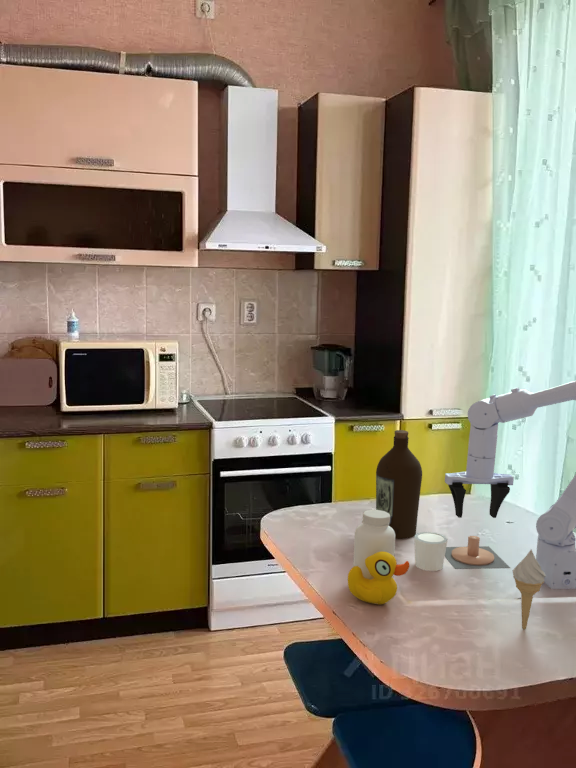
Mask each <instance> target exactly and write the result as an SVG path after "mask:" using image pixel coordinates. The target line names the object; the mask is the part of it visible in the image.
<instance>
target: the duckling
mask: <svg viewBox="0 0 576 768" xmlns="http://www.w3.org/2000/svg"><path fill="white" fill-rule="evenodd" d="M397 563H398V562H397V559H396V557H395V555H394V556H393V555H391V554H390V553H388V552H384V551H381V552H377V553H375V554H373V555H371V556H369V557H367V558H366V559H365V565H366V567H367V568H368V571H369V573H370V574H371V575H372V576H373V577H374V578H373V579H367V578H365V577H364V576H363V573H362V570H361V568H360V567H358V566H354V567H353V566H352V568H351V569H350V570H349V571H348V574H347V586H348V591H349V592H350V593H351V594H352V595H353V596H354V597H355V598H357V599H359V600H361V601H362V602H364V603H369V604H373V605H384V604H386V603H388V602H390V601H392V599H394V597H395V596H396V594H397V591H398V584H397V582H396V580H395V579H394V576H397V577H401V576H403V575H406V573H407V572H408V570H409V568H410V562H409V561H408V560H406V561H405V562H404V563H402V564H401V563H400V564H399V563H398V564H397ZM392 576H393V578H392Z"/></svg>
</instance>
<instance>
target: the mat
mask: <svg viewBox="0 0 576 768" xmlns="http://www.w3.org/2000/svg"><path fill="white" fill-rule="evenodd" d="M458 547H459V546H446V551H445V557H444V558H445V559H446V560H447V561H448V562H449V563H450V565H451V566H452V567H453V569H455V570H468V569H469V570H470V569H471V570H472V569H475V570H476V569H511V567H510V566H509V565H508V563H506V562H505V561H504V560H503V559H502V558H501V557H500V556H499V555H498V554H497V553H496V552H495V551H494V550H493V549H492V548H491V547H490V546H489V545H488V546H487V545H486V546H481V545H479V548H481V549H484V550H487V551H489V552H491V553H492V554H493V555H494V561H493V562H492V563H491V564H488V565H470V564H465V563H462V562H459V561H457V560H455V559H454V558H453V557H452V550H453V549H455V548H458Z"/></svg>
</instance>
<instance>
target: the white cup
mask: <svg viewBox="0 0 576 768" xmlns="http://www.w3.org/2000/svg"><path fill="white" fill-rule="evenodd" d="M413 540H414V543H413V544H414V565H415V567H416V568H417V569H420V570H423V571H427V572H436V571H440V570H442V569H443V567H444V563H445V558H446V557H445V551H446V547H447V544H448V538H447V536H446V535H443V534H441V533H437V532H431V531H430V532H429V531H423V532H418V533H417V532H416V534H415V536H414V537H413Z"/></svg>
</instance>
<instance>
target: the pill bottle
mask: <svg viewBox="0 0 576 768" xmlns="http://www.w3.org/2000/svg"><path fill="white" fill-rule="evenodd" d="M389 523H390V514H389V513H387V512H385V511H381V510H376V509H367V510H365V511H363V513H362V521H361V523H360V524H359V525H358V526H356V528H355V531H354V539H353V563H352V565H353V566H352V568H353V567H354V566H358V567H360V568H361V570H362V573H363V576H364V577H365V578H367V579H373V578H374V577H373V576H372V575H371V574H370V573H369V571H368V568H367V567H366V565H365V559H366V558H367V557H369V556H371V555H373V554H375V553H377V552H381V551H384V552H388V553H390V554H391V555H393V556H394V557H395V550H396V539H395V532H394V530H393V529H392V528H391V527H390V526H389ZM392 578H393V579H394V575H393V576H392Z"/></svg>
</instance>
